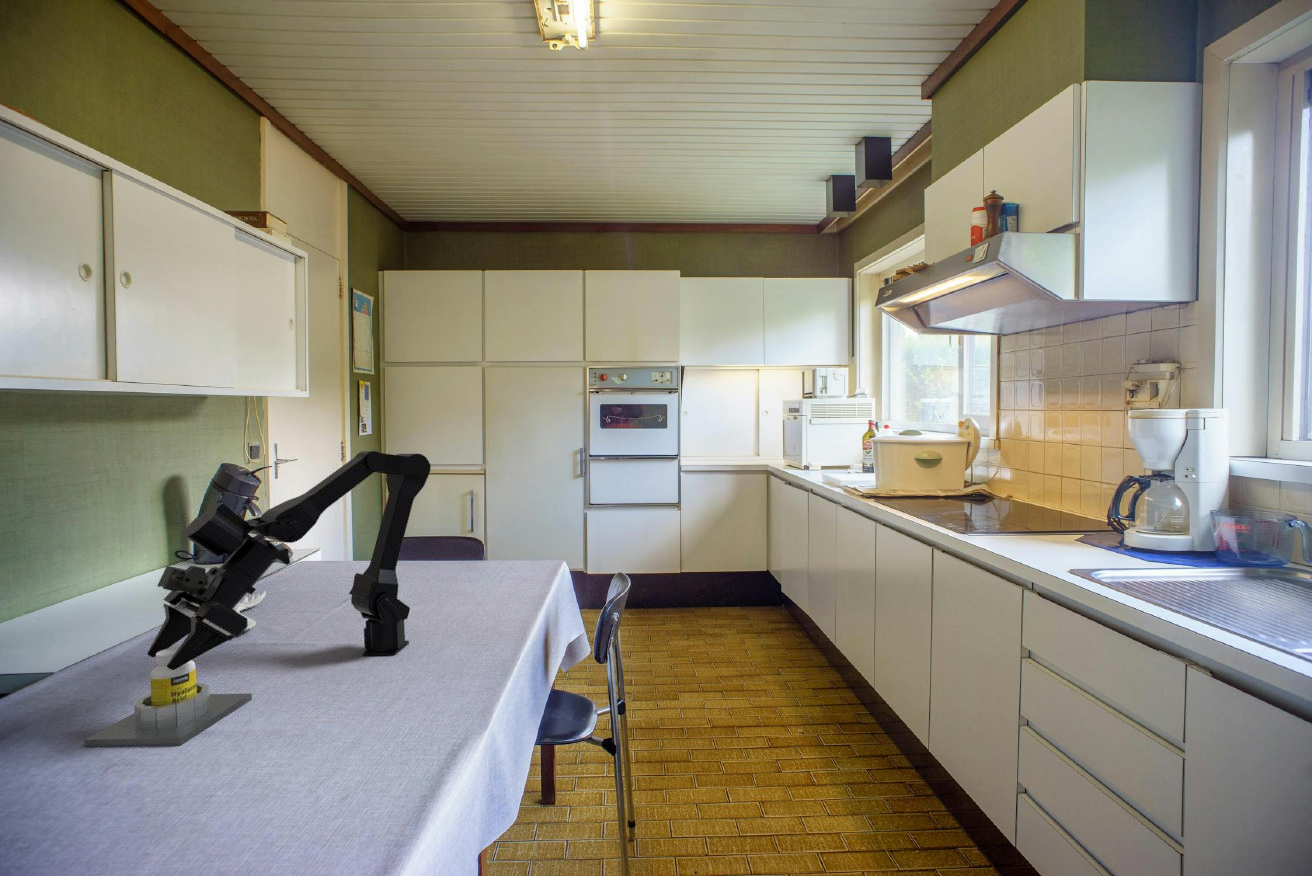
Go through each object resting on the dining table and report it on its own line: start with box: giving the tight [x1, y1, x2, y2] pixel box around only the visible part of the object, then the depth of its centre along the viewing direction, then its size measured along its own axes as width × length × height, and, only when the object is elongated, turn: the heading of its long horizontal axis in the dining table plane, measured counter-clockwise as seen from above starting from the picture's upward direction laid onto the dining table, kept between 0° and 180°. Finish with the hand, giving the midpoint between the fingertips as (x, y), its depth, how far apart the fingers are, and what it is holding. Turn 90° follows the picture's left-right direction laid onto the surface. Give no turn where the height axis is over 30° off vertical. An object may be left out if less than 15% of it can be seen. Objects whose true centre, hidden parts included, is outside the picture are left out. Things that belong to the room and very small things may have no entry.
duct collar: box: [83, 682, 253, 748], centre depth 91 cm, size 14×14×4 cm
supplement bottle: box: [149, 645, 197, 706], centre depth 92 cm, size 5×5×10 cm
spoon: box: [228, 590, 267, 637], centre depth 141 cm, size 9×32×4 cm, turn 28°
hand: (159, 662), depth 90 cm, fingers open, 9 cm apart
